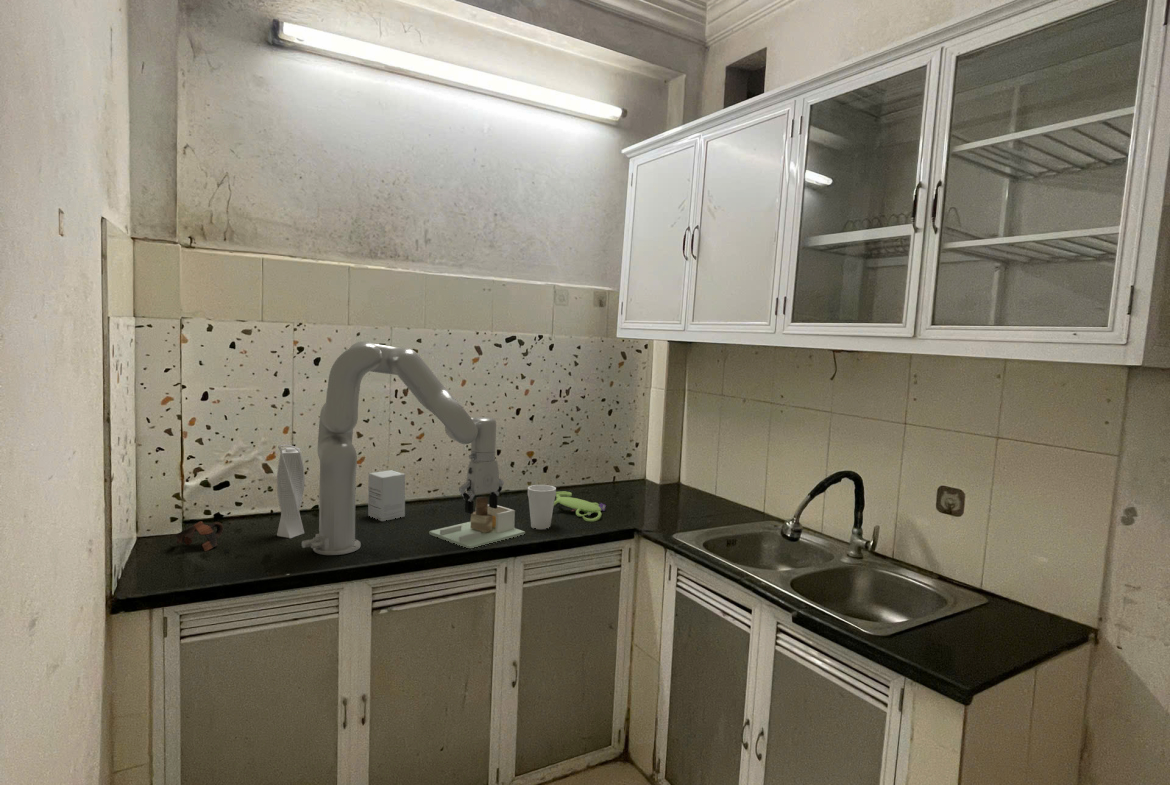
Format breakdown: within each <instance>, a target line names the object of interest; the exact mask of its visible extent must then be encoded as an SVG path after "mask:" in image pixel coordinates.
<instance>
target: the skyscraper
mask: <svg viewBox="0 0 1170 785" xmlns="http://www.w3.org/2000/svg"><path fill="white" fill-rule="evenodd" d="M278 449H279V452H280V454H279V460H278V466H277V473H276V474H277V475H276V492H277V499H278V504H279V509H280V519H279V524H278V528H277V532H276V536H277V537H282V538H287V539H293V538H295V537H298V536H300V535H304V534H305V530H304V525H303V521H302V518H301V514H300V513H301V512H300V509H301V505H302V503H303V496H304V492H305V483H306V482H305V479H306V478H305V467H304V462H303V457H302V452H301V451H302V450H301V447H296V446H294V445H291V444H281V445H278Z"/></svg>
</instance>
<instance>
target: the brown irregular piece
mask: <svg viewBox="0 0 1170 785" xmlns="http://www.w3.org/2000/svg"><path fill="white" fill-rule="evenodd" d="M214 528H216V531H215V530H214ZM223 531H224V526H223V524H222V523H221V522H219V521H214V522H212V523H210V524H204V522H203V521H198V522H196V523H195V524H193V525H191V526H189V527H187V528H185V529H184V530H182V531H179V532H178V533H177V534H176V535H174V536H175V538H176V544H183V543H184V544H185V545H187V546H190V545H191V544H192V543H193V538H195V536H194V534H195V532H198V534H199V535H201V536H204V537H205V538H206V540H207V541H206V542H204V543H202V544H201V546H202V548H203V551H204V552H207V551H210V550H211V549H213V548H215V547H218V541H217V540H218V539H219V537H220V536H221V535H222V533H223Z"/></svg>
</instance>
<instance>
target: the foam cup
mask: <svg viewBox="0 0 1170 785" xmlns="http://www.w3.org/2000/svg"><path fill="white" fill-rule="evenodd" d="M556 492H557V487H555V486H553V485H548V484H534V485H530V486H527V496H528V498H527V499H528V506H529V516H530V518H529V520H530V527H531V528H532V529H534V528H536V529H535V530H547V529H546V528H548V529H549V527H550V528H551V524H552V519H553V512H554V511H553V510H554V506H555V505H554V501H556Z"/></svg>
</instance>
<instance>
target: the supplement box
mask: <svg viewBox="0 0 1170 785" xmlns="http://www.w3.org/2000/svg"><path fill="white" fill-rule="evenodd" d="M367 483H368V493H367V494H368V495H367V496H368V499H367V500H368V501H367V502H368V505H367V506H368V507H367V508H368V509H367V510H368V512H367V516H368V517H369V516H370V518H372V517H373V518H372V519H374V518H375V519H374V520H377V519H378V520H377V521H380V522H386V520H387V521H390V520H391V521H392V520H395V518H396V519H400V517H401V518H404V517H405V516H406V494H405V493H406V474H405V473H403V472H399V471H395V470H392V469H390V470H384V471H383V470H382V471H375V472H370V473H368V482H367Z"/></svg>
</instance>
